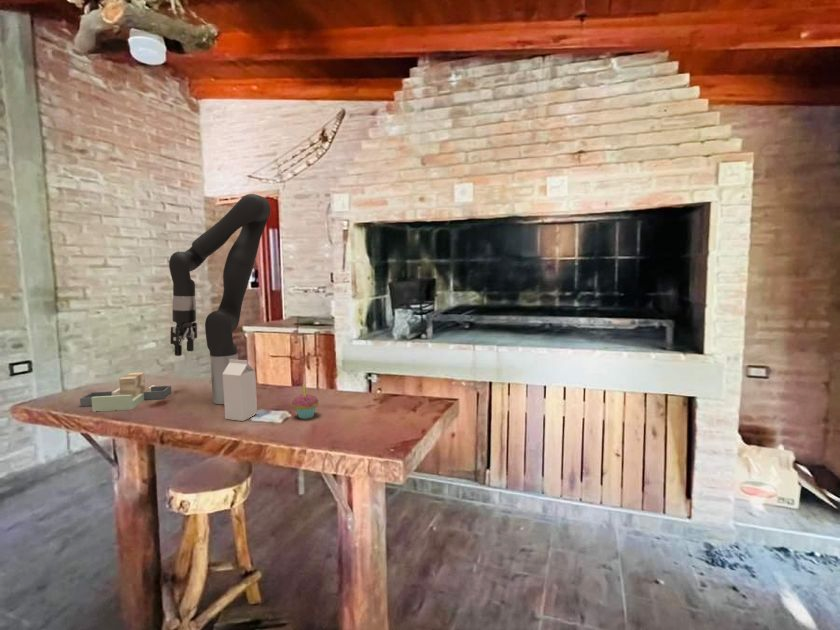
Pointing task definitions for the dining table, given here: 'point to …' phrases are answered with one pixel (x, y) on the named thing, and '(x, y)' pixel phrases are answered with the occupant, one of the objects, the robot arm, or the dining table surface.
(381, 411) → the dining table surface
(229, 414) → the milk carton
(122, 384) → the beech block
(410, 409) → the dining table surface
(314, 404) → the cupcake
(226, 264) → the robot arm
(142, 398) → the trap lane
